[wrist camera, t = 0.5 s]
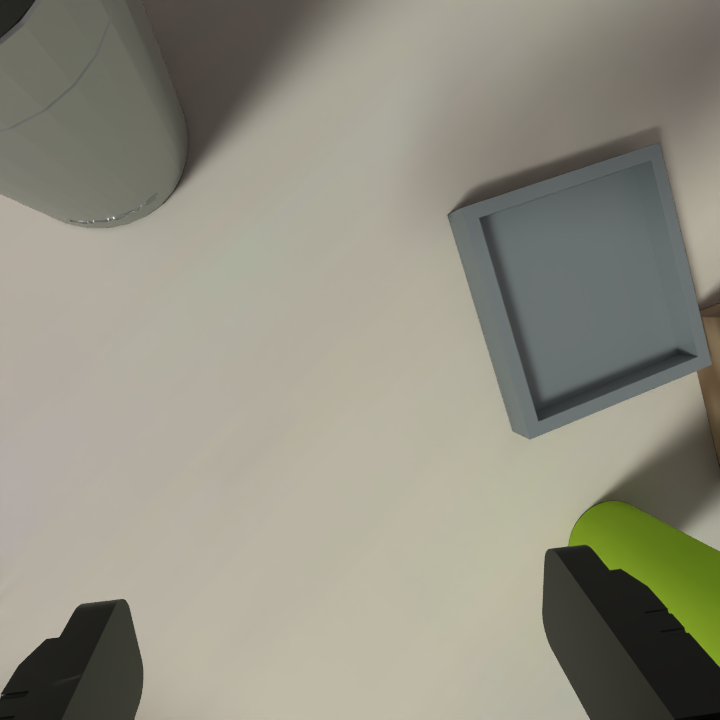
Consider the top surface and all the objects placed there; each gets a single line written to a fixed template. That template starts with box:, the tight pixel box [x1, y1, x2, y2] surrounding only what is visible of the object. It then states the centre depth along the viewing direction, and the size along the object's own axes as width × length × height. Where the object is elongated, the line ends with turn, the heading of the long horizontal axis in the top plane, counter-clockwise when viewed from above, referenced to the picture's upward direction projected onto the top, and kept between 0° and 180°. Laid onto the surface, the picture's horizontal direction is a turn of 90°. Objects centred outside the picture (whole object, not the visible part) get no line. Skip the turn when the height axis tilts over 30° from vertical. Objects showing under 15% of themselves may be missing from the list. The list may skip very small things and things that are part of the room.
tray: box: [448, 142, 712, 439], centre depth 31 cm, size 14×13×2 cm
